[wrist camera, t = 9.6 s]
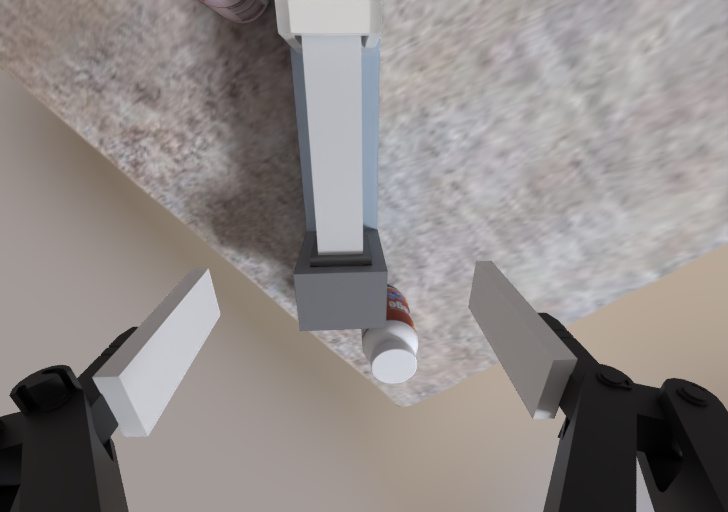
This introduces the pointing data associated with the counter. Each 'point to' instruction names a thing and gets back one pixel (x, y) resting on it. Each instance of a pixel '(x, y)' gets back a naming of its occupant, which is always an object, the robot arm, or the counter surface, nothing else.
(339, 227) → the tube
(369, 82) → the mounting board
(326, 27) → the sleeve
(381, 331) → the pill bottle
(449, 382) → the counter surface
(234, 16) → the beverage can
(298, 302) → the socket
